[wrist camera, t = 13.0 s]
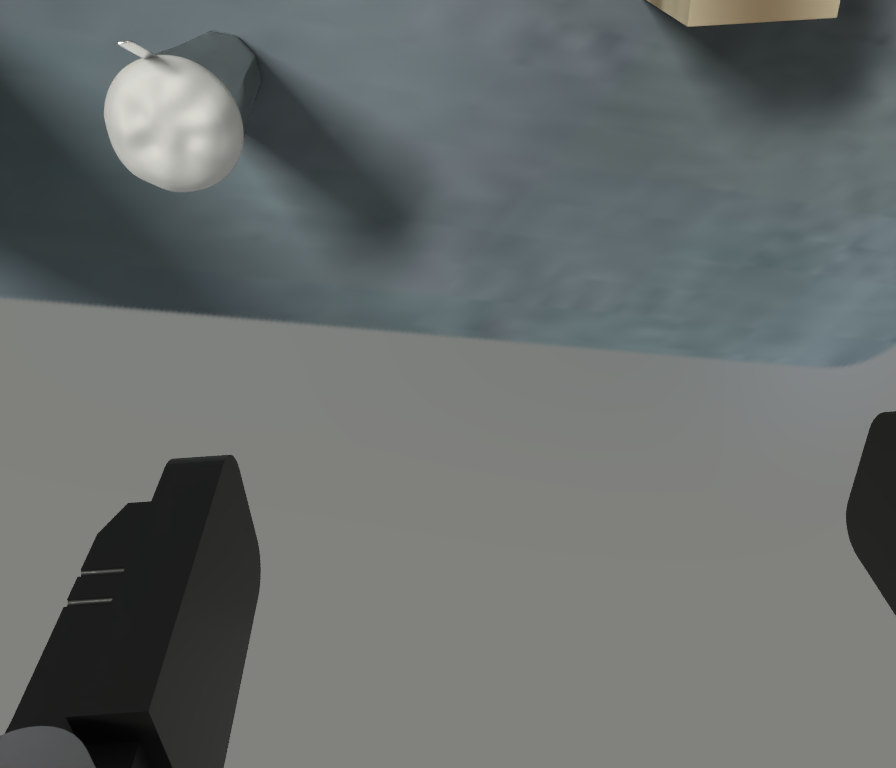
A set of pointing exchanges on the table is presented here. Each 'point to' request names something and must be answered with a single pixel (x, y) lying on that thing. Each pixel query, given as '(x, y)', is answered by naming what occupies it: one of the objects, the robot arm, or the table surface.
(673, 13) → the maple block
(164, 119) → the milkshake
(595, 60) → the table surface
